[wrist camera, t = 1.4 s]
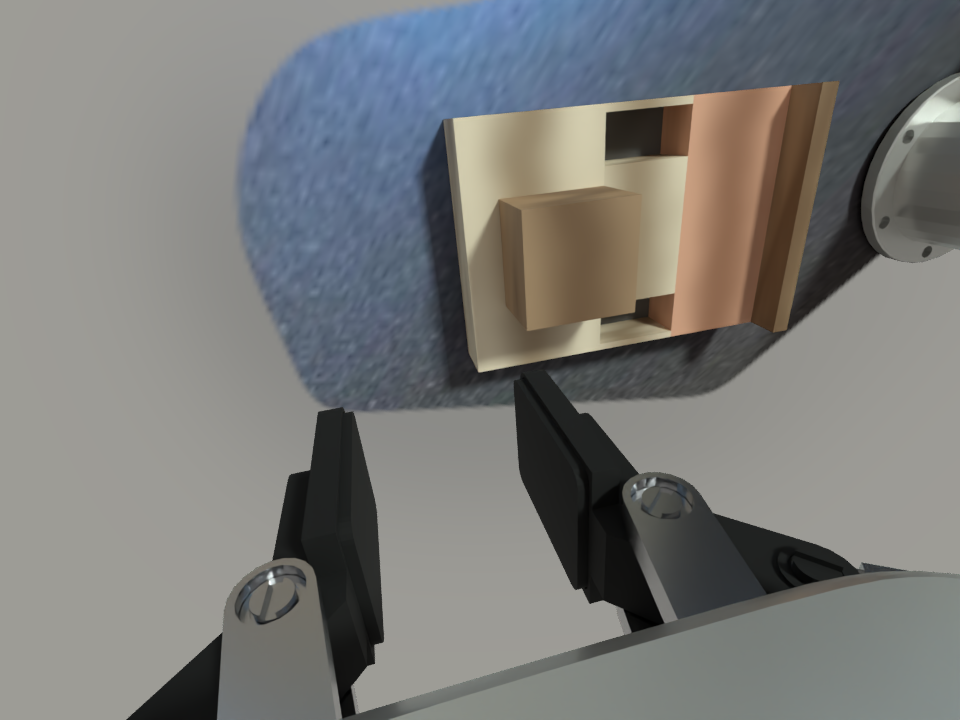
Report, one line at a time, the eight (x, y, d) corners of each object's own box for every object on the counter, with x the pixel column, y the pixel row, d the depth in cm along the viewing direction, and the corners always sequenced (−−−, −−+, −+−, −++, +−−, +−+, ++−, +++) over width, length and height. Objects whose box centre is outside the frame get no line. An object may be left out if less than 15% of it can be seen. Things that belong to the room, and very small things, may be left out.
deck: (767, 88, 29) (839, 80, 25) (733, 305, 36) (786, 330, 31) (443, 119, 26) (460, 117, 22) (468, 352, 32) (486, 387, 28)
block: (604, 185, 27) (642, 194, 23) (601, 290, 29) (634, 312, 26) (498, 199, 26) (521, 210, 22) (505, 305, 28) (527, 331, 25)
